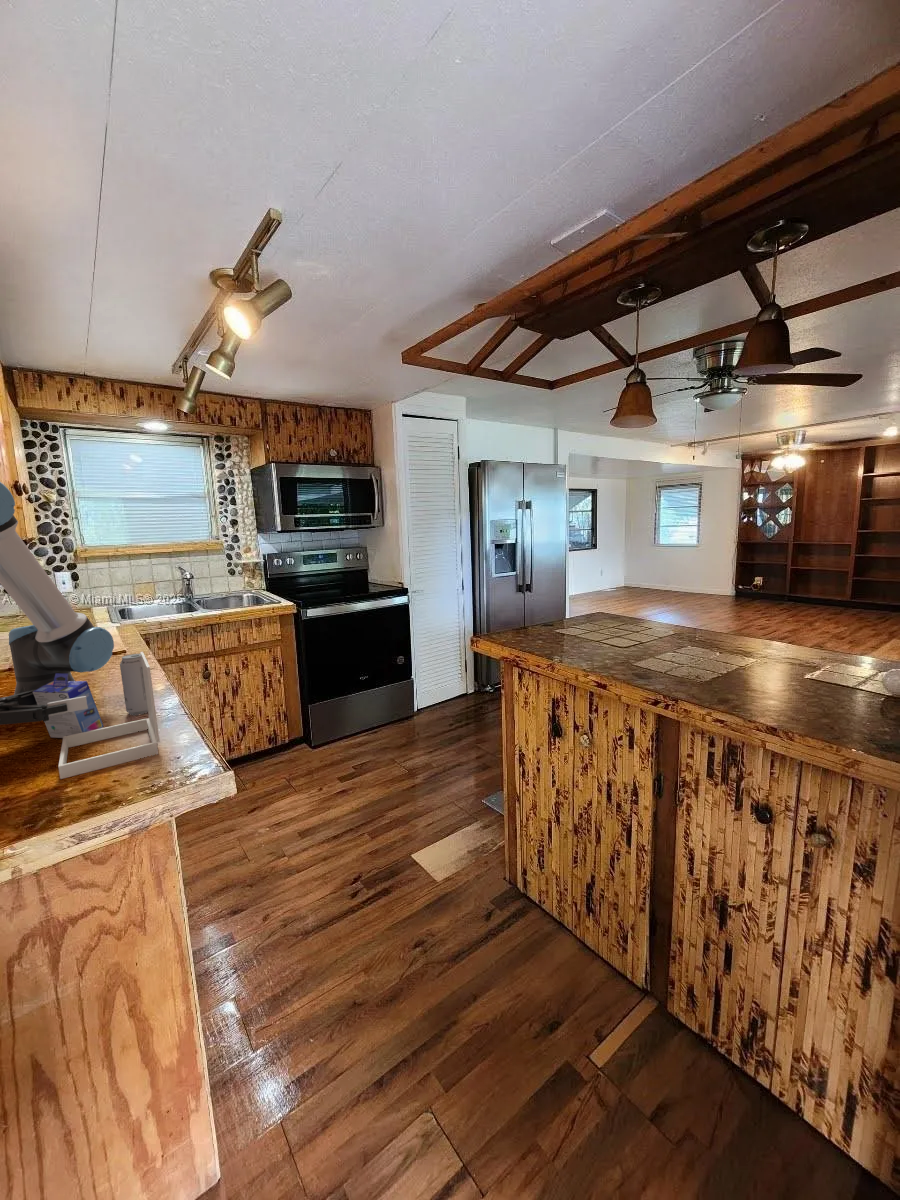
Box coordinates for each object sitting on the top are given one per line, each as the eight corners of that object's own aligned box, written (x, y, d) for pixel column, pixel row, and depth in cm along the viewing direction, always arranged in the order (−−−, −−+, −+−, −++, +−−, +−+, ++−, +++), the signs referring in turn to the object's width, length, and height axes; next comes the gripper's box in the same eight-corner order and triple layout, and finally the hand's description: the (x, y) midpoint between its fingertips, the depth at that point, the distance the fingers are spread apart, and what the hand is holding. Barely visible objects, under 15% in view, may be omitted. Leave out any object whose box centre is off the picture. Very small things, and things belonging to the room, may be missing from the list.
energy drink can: (132, 709, 129) (124, 654, 127) (157, 706, 131) (150, 652, 129) (122, 717, 124) (114, 659, 122) (149, 714, 125) (141, 657, 123)
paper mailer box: (65, 747, 106) (51, 665, 104) (152, 727, 116) (142, 651, 113) (60, 779, 92) (45, 684, 89) (161, 753, 101) (149, 666, 99)
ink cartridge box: (106, 725, 115) (85, 671, 110) (86, 740, 110) (62, 684, 105) (71, 724, 117) (48, 670, 112) (49, 738, 112) (25, 683, 107)
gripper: (-27, 718, 110) (89, 697, 122) (-53, 756, 90) (89, 726, 102) (-33, 686, 109) (84, 667, 121) (-61, 717, 89) (84, 691, 101)
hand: (87, 694), depth 112 cm, fingers open, 13 cm apart
